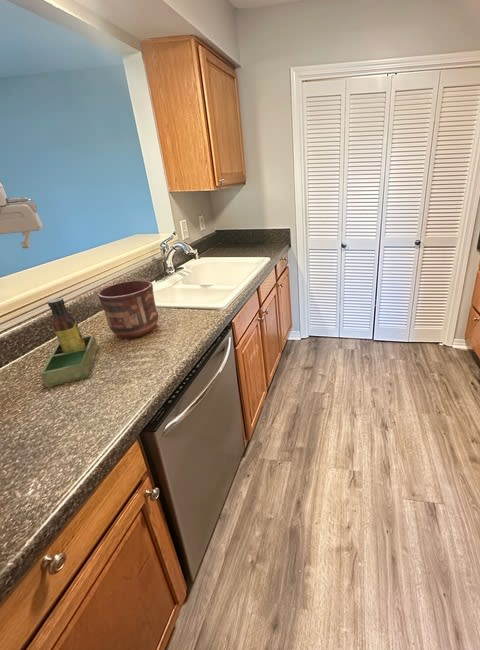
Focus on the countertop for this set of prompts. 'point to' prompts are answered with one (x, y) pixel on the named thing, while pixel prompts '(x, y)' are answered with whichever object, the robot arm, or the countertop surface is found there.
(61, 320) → the sauce bottle
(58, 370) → the green shallow open box
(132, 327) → the pottery
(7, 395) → the countertop surface
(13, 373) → the countertop surface
